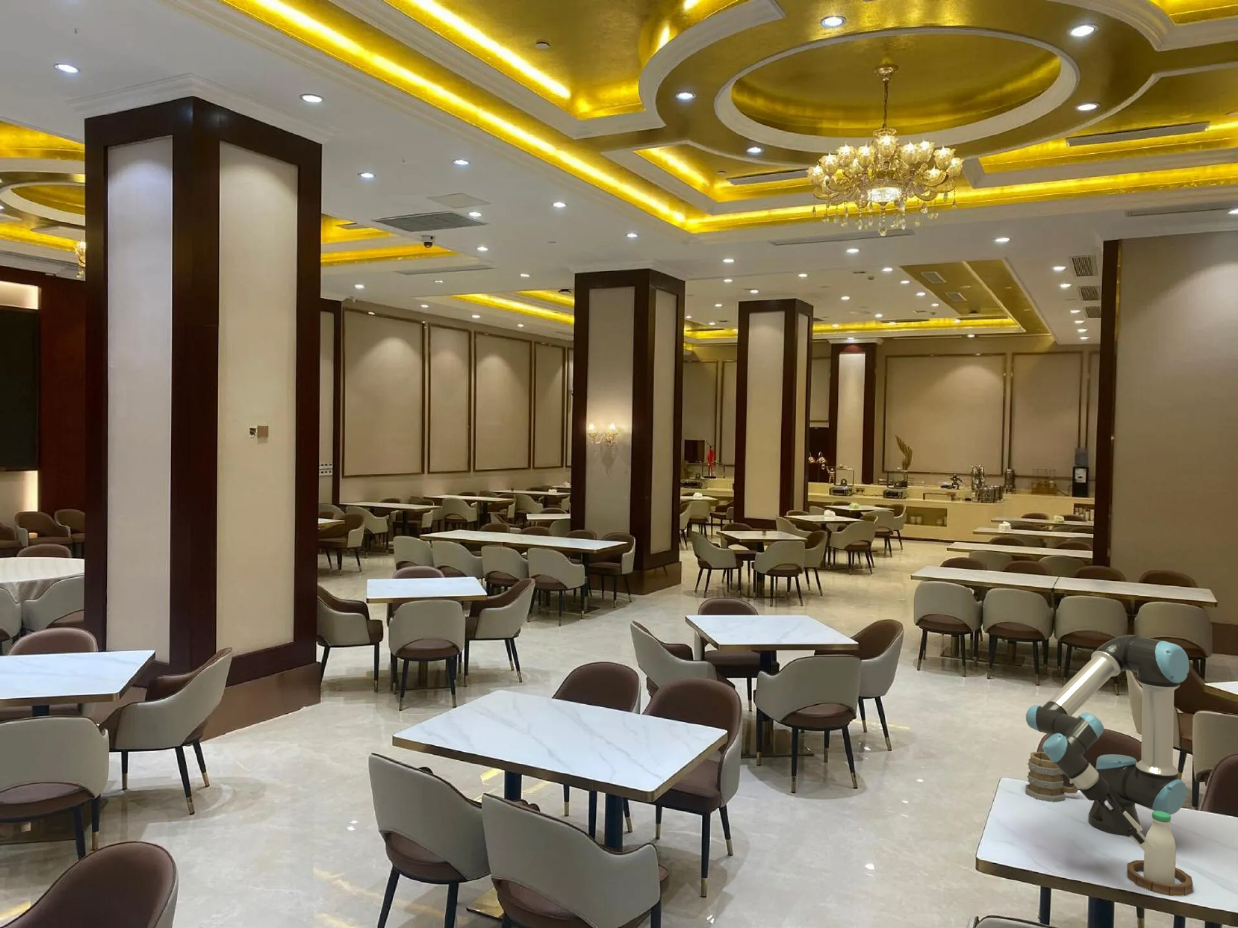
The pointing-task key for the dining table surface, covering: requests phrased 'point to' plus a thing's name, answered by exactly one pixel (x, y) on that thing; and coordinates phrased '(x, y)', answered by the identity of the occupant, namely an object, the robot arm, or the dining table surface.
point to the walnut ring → (1159, 887)
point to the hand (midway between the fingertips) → (1144, 840)
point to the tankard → (1046, 779)
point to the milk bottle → (1160, 850)
